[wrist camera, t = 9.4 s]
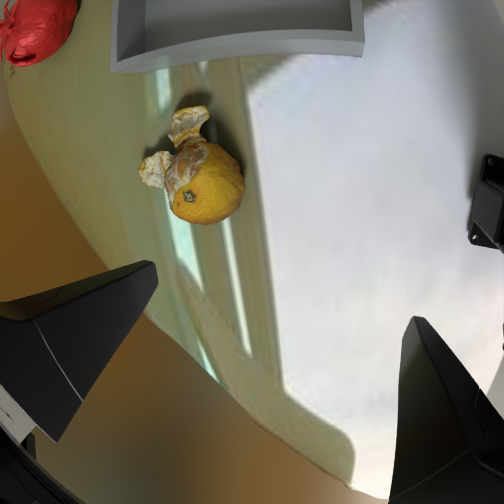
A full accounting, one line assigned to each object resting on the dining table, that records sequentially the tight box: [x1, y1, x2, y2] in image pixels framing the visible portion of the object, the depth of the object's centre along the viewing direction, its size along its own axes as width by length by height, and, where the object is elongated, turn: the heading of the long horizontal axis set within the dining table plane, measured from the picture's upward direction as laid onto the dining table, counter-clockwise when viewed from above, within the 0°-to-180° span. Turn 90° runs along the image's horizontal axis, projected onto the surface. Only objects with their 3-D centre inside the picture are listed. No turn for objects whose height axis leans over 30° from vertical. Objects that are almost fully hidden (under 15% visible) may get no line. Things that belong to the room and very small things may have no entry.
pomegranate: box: [0, 0, 78, 67], centre depth 13 cm, size 10×10×9 cm
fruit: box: [139, 105, 245, 225], centre depth 19 cm, size 8×8×4 cm
